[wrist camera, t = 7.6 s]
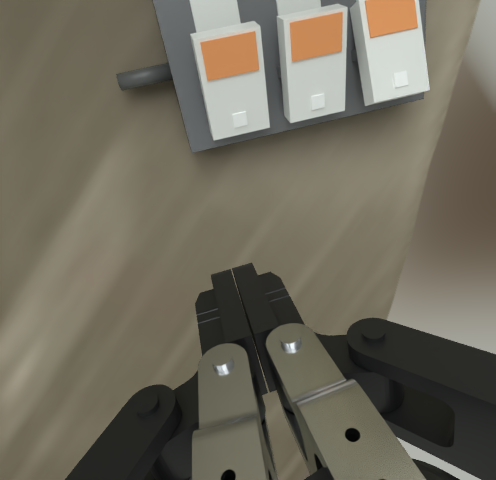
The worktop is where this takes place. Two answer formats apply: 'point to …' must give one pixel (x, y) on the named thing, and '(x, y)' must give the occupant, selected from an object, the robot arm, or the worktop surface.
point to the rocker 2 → (389, 49)
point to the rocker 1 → (232, 78)
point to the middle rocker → (313, 61)
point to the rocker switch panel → (264, 14)
